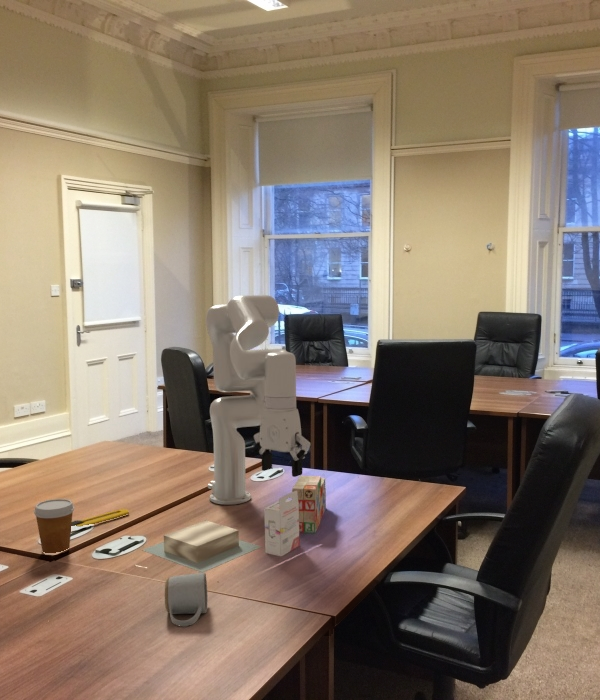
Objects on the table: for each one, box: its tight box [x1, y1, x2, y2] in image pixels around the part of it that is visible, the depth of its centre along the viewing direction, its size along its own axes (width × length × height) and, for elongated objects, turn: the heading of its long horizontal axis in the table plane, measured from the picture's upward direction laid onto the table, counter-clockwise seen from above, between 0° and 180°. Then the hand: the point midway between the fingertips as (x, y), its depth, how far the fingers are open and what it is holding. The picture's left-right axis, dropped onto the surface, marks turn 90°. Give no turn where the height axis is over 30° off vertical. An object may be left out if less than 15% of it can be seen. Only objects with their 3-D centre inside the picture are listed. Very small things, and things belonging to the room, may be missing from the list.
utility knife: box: [71, 508, 130, 526], centre depth 197 cm, size 7×22×2 cm, turn 138°
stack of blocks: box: [291, 475, 327, 534], centre depth 197 cm, size 21×6×12 cm, turn 170°
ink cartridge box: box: [263, 490, 300, 557], centre depth 174 cm, size 9×5×15 cm, turn 148°
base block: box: [163, 519, 240, 563], centre depth 175 cm, size 12×14×4 cm
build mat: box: [141, 539, 262, 573], centre depth 176 cm, size 22×20×1 cm
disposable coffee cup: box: [33, 498, 75, 553], centre depth 175 cm, size 10×10×12 cm
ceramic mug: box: [164, 572, 208, 627], centre depth 141 cm, size 11×8×8 cm
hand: (281, 472), depth 173 cm, fingers open, 9 cm apart
